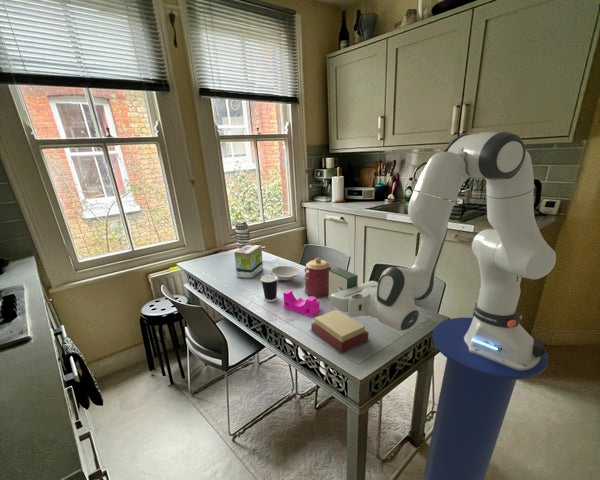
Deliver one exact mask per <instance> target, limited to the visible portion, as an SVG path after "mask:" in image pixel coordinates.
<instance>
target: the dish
mask: <svg viewBox="0 0 600 480" xmlns="http://www.w3.org/2000/svg"><path fill="white" fill-rule="evenodd" d="M270 273H271V275H275V276H277V277H278V279H277V280H282V281H291V280H293V279H295V278H296V277H297V276H298V275H300V273H301V272H300V269H298V268H297V267H295V266H292V265H277V266H274V267H272V268H271V269H270Z"/></svg>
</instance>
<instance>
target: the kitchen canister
mask: <svg viewBox="0 0 600 480" xmlns="http://www.w3.org/2000/svg"><path fill="white" fill-rule="evenodd" d="M332 269H333V268H332V267H331V264H330V263H329V262H328V261H326V260H325V259H321V258H320V257H316V258H315V259H312V260H310V261H308V262H307V263H306V264H305V268H304V272H305V274H304V283H305V284H304V291H305V293H306V294H307V295H308V296H309V297H311V296H313V297H316V298H321V297H326V296H329V270H332Z"/></svg>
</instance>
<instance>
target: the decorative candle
mask: <svg viewBox="0 0 600 480" xmlns="http://www.w3.org/2000/svg"><path fill="white" fill-rule="evenodd" d="M248 224H249V222H247V221H246V220H237V221H236V222H235V223H234V226H235V227H234V228H235V229H234V236H235V237H234V238H235V242H236V244H237V250H239V249H240V248H242V247H244V246H245V245H251V244H250V243H251V238H250V237H251V235H250V234H251V233H250V232H251V231H250V229H249V225H248Z"/></svg>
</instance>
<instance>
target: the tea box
mask: <svg viewBox="0 0 600 480" xmlns="http://www.w3.org/2000/svg"><path fill="white" fill-rule="evenodd" d="M234 261H235V272H236V277H237V278H244V279H245V278H246V279H253V278H254V277H255V276H256V275H257V274H259V273H260V272H261V271H262V270H263V269H264V263H263V249H262V245H257V244H250V245H245V246H244V247H242V248H240V249H239V250H238V249H237V250H236V251H234Z"/></svg>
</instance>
